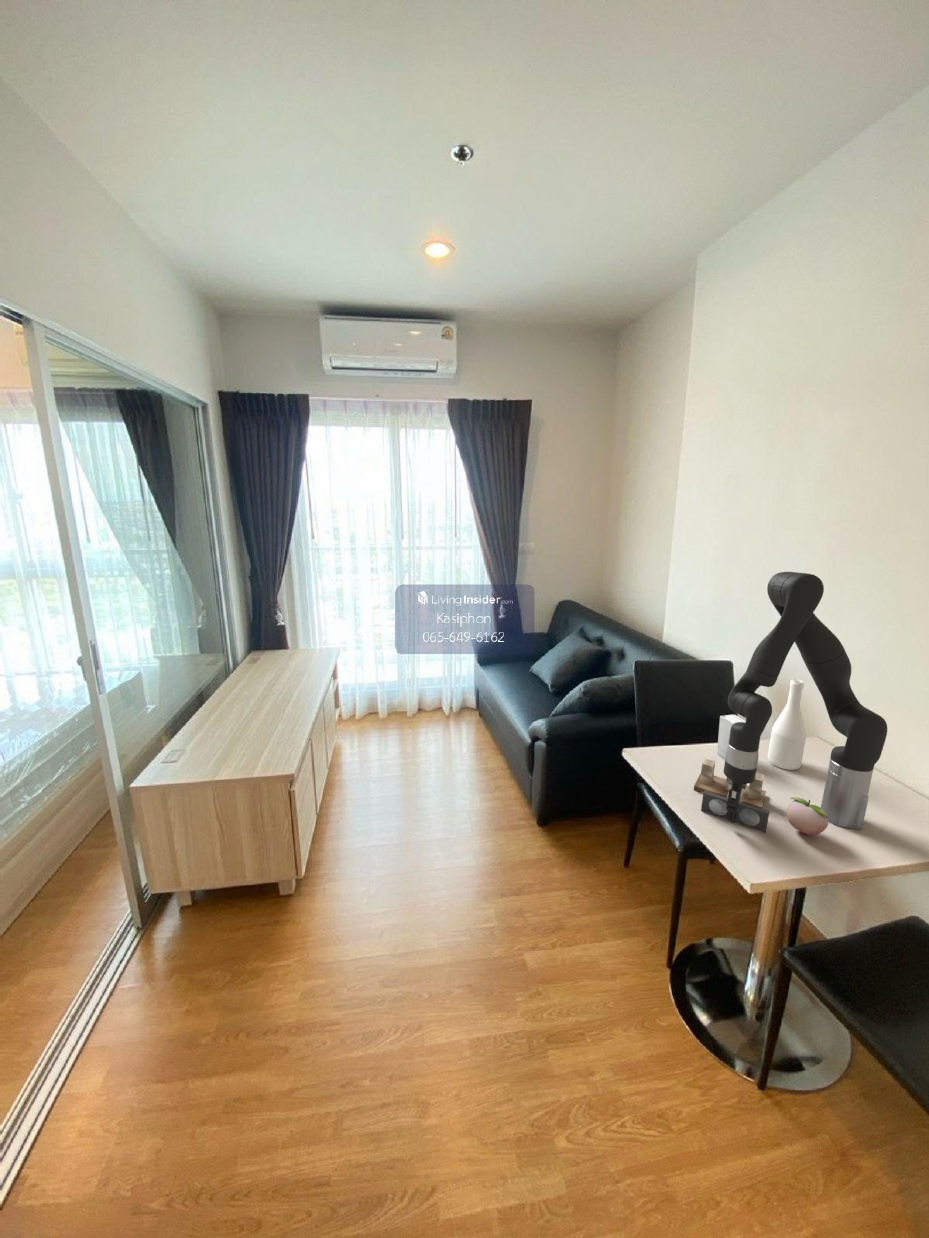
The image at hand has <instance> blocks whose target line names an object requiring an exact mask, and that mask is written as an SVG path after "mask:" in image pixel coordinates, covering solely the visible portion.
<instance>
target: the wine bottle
mask: <svg viewBox="0 0 929 1238" xmlns="http://www.w3.org/2000/svg"><path fill="white" fill-rule="evenodd" d="M789 683H790V684H789V693H788V698H787V703H786V705H785V706H784V708H783V709H782V711H781V713H780V715H779V716H778V717H777V719H776V720H775V722H774V724H773V725H772V727H771V728H772V729H771V735H770V740H769V746H768V752H767V760H768V762H769V763H770V764H771V765H773V766H775V767H777V768H780V769H783V770H789V771H795V770H798V769H800V767H801V766H802V763H803V757H804V751H805V746H806V742H807V741H806V740H807V733H806V727H805V724H804V718H803V715H802V709H801V702H802V701H801V700H802V694H803V693H802V691H803V689H804V687H805V683H804V681H803V680H801V679H796V678H793V679H791V681H790V682H789Z"/></svg>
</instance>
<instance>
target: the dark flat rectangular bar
mask: <svg viewBox="0 0 929 1238" xmlns="http://www.w3.org/2000/svg"><path fill="white" fill-rule="evenodd" d="M727 802H728V799H727V798H726V797H723V796H720V795H717V794H713V793H710V792H707V791H704V792H703V793H702V801H701V807H700V811H701V812H703V813H706V814H709V815H712V816H715V817H718V818H721V819H723V820H726V821H727V819H726V818H727V811H728V810H726V809H727V808H726V806H727ZM730 805H733V806H736V805H735V804H732V803H731V804H730ZM738 809H739V810H738V812H737V817H736V822H735V823H734V824H738V825H741V826H743V827H746V828H750V829H753V830H755V831H758V832H762V833H764V834H767V830H768V829H767V828H768V823H769V816H770V811H769V810H768V809H767V810H766V809H763V808H762V809H760V808H757V807H754V806H751V805H748V804H745V803H741V804H739V807H738Z"/></svg>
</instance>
